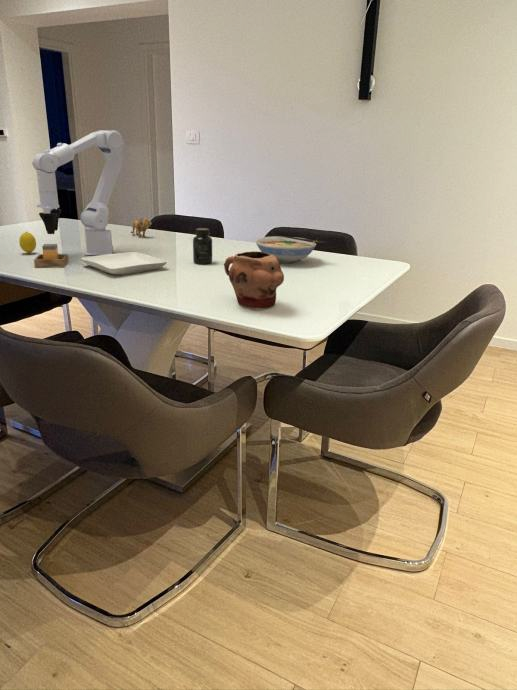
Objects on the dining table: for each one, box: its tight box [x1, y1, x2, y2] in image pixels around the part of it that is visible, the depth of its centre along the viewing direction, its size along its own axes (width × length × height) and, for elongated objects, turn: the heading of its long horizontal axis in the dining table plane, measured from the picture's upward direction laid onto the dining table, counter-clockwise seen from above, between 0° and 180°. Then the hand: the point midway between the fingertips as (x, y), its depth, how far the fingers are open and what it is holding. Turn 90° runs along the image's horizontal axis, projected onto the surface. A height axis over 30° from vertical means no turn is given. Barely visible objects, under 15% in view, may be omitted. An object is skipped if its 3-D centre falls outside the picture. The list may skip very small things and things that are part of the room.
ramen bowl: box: [254, 234, 327, 264], centre depth 191 cm, size 25×23×8 cm
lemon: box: [18, 231, 37, 255], centre depth 186 cm, size 6×6×8 cm
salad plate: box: [80, 251, 168, 276], centre depth 172 cm, size 21×21×3 cm
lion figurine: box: [130, 217, 152, 239], centre depth 229 cm, size 15×5×9 cm, turn 45°
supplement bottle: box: [192, 227, 213, 266], centre depth 182 cm, size 7×7×12 cm
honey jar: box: [41, 243, 59, 259], centre depth 172 cm, size 4×4×6 cm
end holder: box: [33, 253, 69, 268], centre depth 173 cm, size 9×9×2 cm
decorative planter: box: [223, 250, 285, 310], centre depth 136 cm, size 20×12×14 cm, turn 55°
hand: (52, 232), depth 178 cm, fingers open, 7 cm apart
